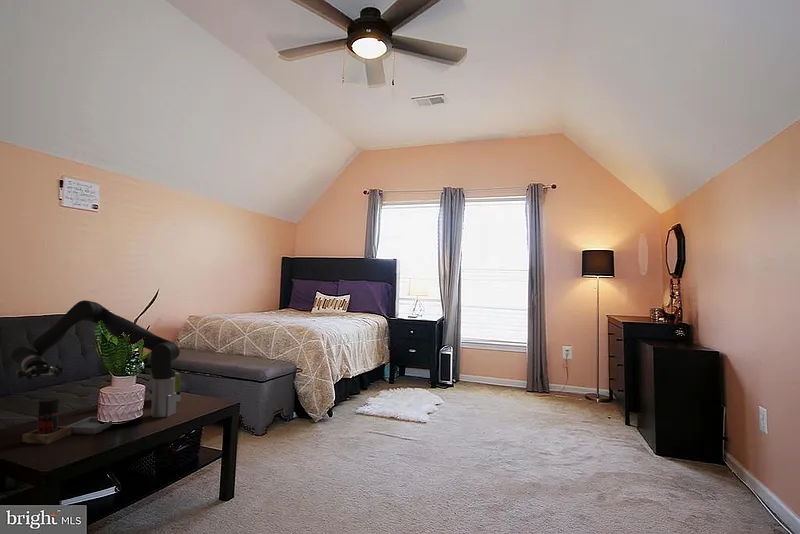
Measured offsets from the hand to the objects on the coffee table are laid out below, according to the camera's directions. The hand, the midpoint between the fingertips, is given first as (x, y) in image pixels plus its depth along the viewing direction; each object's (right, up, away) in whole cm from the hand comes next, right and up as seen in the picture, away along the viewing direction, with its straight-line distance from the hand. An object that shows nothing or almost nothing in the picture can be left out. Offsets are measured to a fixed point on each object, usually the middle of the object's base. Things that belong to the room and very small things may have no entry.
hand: (44, 375), depth 171 cm
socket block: (+7, -23, -7) cm, 25 cm away
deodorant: (+7, -23, -7) cm, 25 cm away
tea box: (+23, -25, +47) cm, 58 cm away
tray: (+16, -23, +5) cm, 29 cm away
